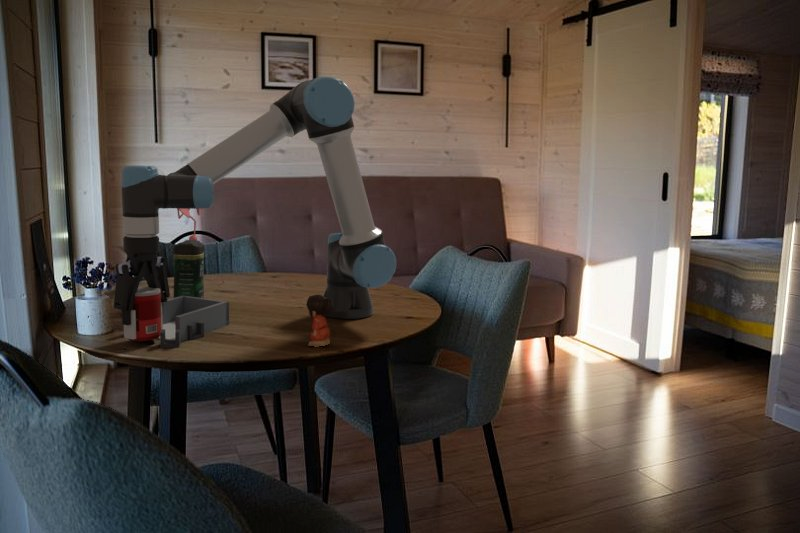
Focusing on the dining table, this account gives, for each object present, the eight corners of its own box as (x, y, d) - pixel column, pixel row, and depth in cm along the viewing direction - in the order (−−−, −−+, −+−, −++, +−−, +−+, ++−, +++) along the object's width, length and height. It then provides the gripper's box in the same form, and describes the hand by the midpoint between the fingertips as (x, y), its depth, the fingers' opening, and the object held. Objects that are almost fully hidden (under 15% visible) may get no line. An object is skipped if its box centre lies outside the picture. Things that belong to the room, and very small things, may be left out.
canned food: (166, 332, 156) (165, 286, 155) (154, 342, 149) (153, 293, 147) (133, 331, 156) (131, 286, 154) (120, 341, 148) (118, 292, 146)
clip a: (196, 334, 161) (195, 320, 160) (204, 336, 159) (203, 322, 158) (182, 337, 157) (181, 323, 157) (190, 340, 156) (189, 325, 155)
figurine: (331, 340, 160) (332, 292, 158) (333, 347, 154) (334, 297, 153) (305, 341, 159) (306, 292, 157) (306, 347, 153) (307, 297, 151)
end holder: (229, 324, 171) (229, 301, 170) (179, 342, 154) (179, 317, 153) (183, 317, 176) (182, 295, 175) (130, 334, 158) (129, 309, 158)
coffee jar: (199, 308, 187) (198, 243, 185) (170, 307, 187) (169, 242, 184) (207, 300, 197) (206, 238, 194) (180, 300, 197) (179, 237, 194)
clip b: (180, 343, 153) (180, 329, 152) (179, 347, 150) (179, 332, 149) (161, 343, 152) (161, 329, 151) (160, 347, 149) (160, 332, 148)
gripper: (159, 229, 159) (161, 321, 163) (91, 238, 140) (96, 342, 144) (185, 232, 157) (186, 325, 161) (120, 241, 138) (123, 347, 141)
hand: (143, 333), depth 152 cm, fingers closed on canned food, 8 cm apart
